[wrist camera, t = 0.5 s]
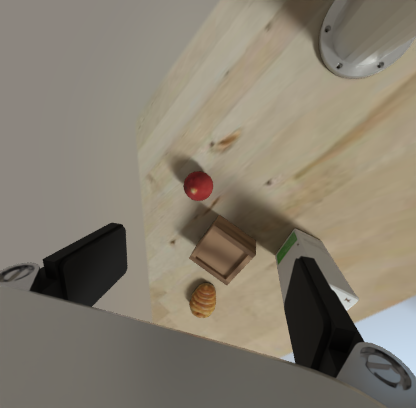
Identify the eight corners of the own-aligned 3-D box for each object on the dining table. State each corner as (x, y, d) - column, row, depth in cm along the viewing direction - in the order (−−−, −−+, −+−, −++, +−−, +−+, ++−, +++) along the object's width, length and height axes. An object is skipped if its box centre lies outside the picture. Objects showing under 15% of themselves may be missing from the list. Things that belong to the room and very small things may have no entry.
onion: (188, 191, 43) (174, 201, 36) (193, 165, 41) (179, 171, 34) (212, 198, 42) (203, 210, 35) (219, 173, 40) (210, 180, 33)
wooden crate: (219, 214, 43) (214, 225, 38) (255, 240, 43) (255, 254, 38) (196, 244, 47) (188, 258, 41) (230, 268, 47) (226, 285, 41)
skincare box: (294, 226, 40) (316, 274, 26) (324, 241, 39) (363, 299, 25) (273, 256, 43) (282, 314, 29) (300, 270, 43) (323, 336, 28)
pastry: (197, 276, 50) (192, 286, 47) (221, 285, 49) (219, 296, 46) (190, 302, 53) (185, 314, 50) (213, 311, 52) (210, 324, 49)
